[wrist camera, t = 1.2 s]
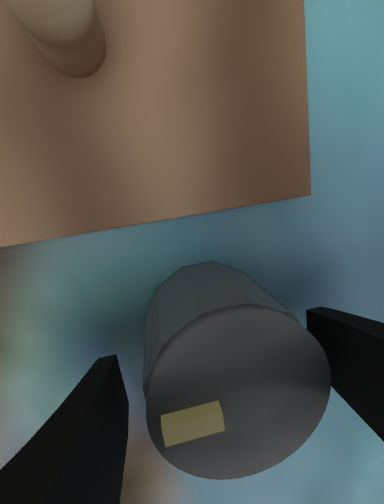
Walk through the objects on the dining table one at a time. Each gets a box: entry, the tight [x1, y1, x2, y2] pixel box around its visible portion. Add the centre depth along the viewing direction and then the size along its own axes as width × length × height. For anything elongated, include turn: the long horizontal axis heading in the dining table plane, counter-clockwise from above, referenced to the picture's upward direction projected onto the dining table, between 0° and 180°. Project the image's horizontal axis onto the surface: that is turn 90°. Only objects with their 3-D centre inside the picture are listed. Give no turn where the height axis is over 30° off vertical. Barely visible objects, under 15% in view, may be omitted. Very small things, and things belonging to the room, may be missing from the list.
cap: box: [143, 261, 331, 480], centre depth 9 cm, size 5×5×6 cm
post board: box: [0, 0, 311, 247], centre depth 7 cm, size 16×12×5 cm
